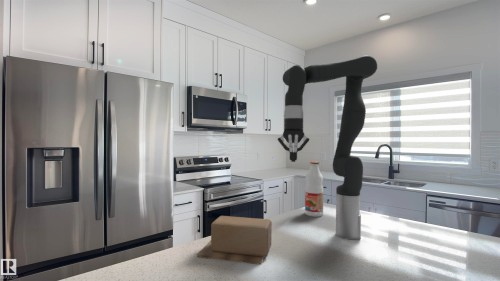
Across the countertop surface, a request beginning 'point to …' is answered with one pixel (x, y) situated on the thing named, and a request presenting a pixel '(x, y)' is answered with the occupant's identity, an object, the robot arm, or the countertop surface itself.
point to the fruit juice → (314, 191)
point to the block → (241, 235)
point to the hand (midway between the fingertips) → (293, 161)
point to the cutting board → (228, 256)
